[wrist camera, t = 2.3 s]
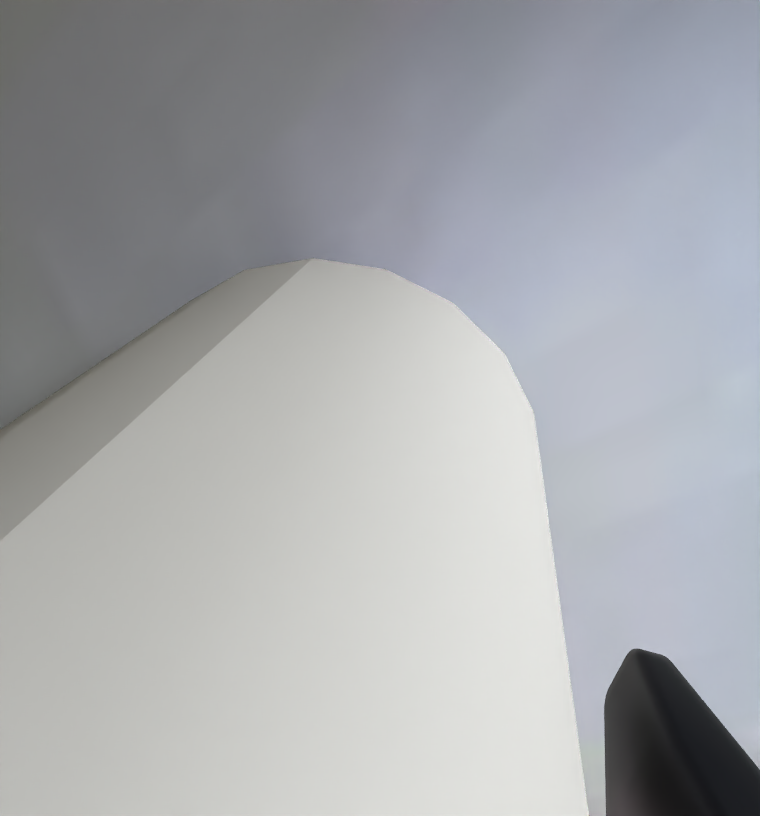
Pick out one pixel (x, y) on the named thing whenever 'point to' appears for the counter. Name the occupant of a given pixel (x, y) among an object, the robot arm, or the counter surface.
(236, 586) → the can
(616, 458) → the counter surface
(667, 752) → the robot arm
